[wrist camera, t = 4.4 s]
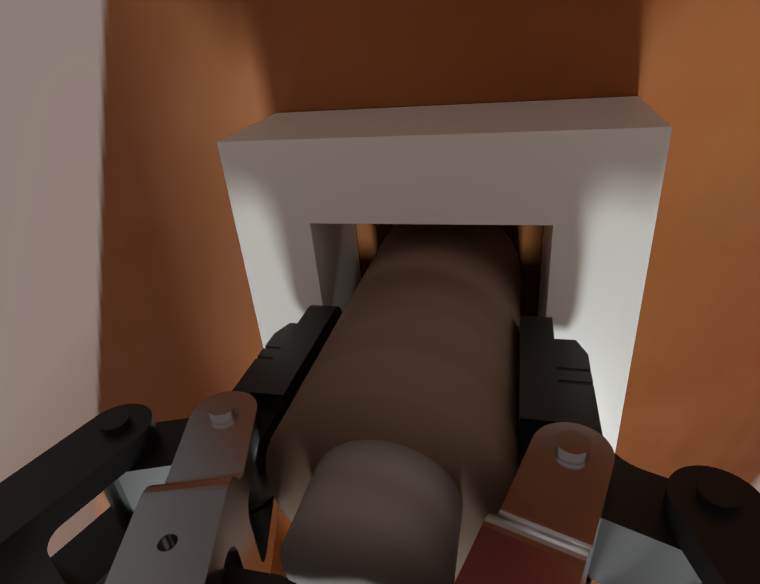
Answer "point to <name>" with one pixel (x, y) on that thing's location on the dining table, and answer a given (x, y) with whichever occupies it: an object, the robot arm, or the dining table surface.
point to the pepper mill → (405, 414)
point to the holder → (460, 205)
